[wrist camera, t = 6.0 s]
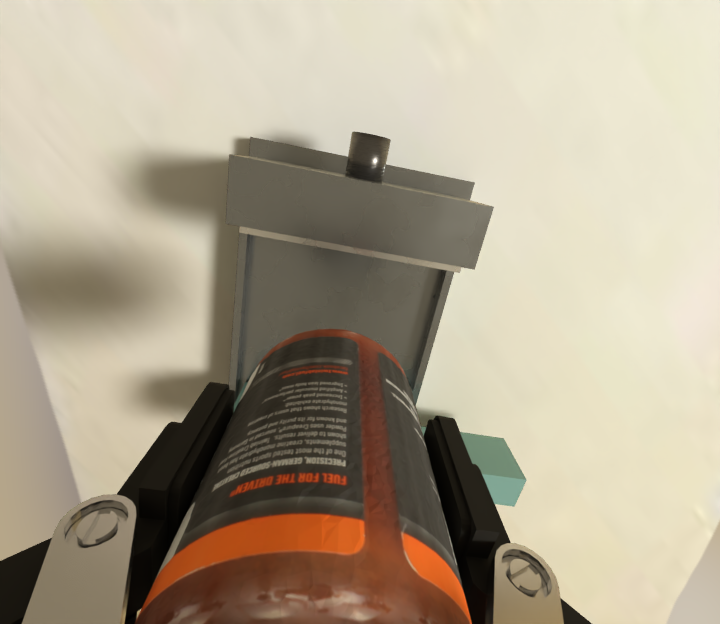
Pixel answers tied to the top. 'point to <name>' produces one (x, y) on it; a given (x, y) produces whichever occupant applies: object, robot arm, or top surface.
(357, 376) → the supplement bottle
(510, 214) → the top surface
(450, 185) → the vise
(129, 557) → the robot arm
